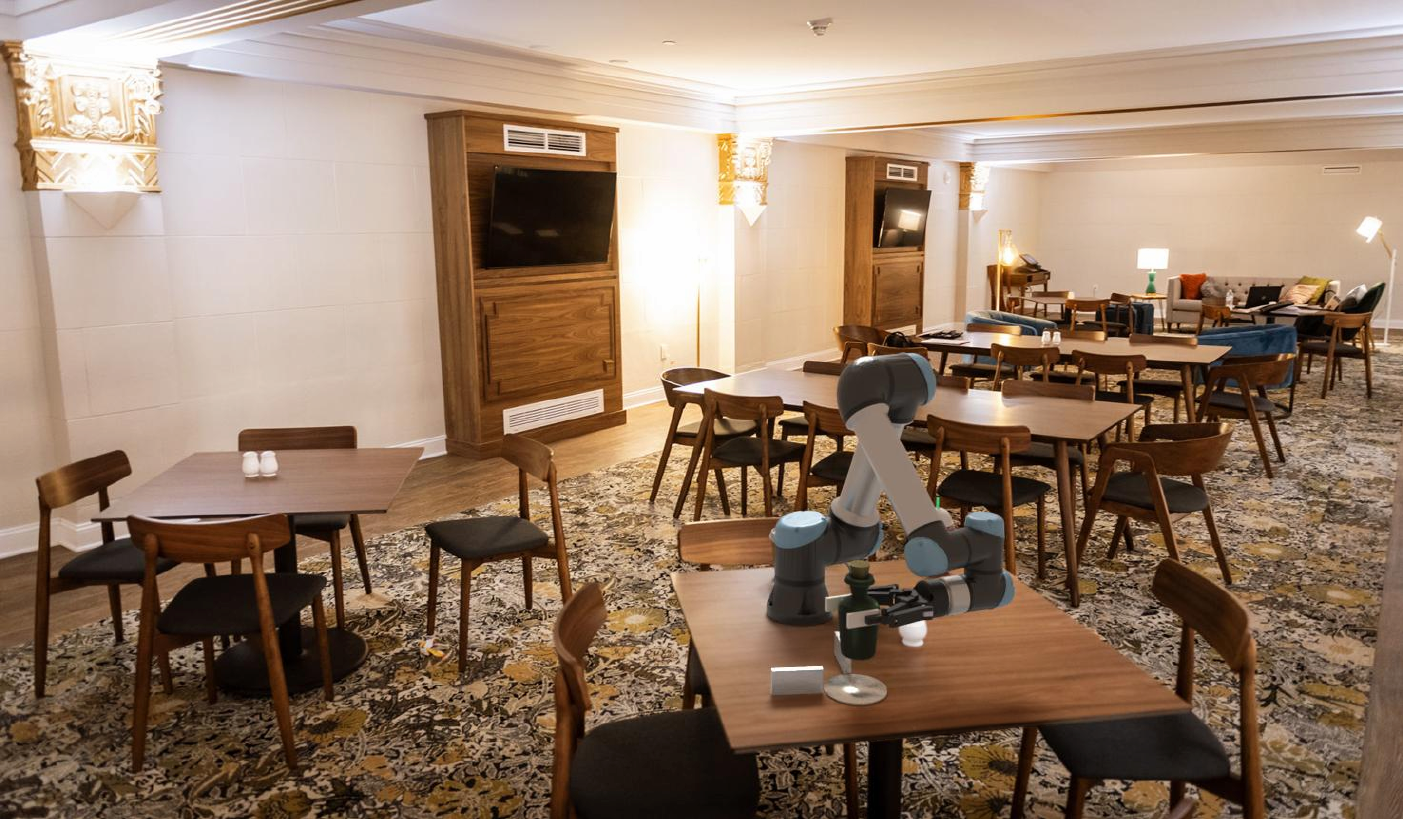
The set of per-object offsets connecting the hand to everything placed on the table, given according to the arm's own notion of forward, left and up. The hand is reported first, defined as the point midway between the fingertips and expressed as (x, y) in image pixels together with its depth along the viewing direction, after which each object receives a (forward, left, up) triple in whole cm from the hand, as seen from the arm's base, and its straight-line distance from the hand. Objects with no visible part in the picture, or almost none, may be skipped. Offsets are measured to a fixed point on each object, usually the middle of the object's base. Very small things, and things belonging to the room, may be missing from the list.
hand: (836, 612), depth 182 cm
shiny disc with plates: (-1, +5, -17) cm, 17 cm away
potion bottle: (+3, +4, -9) cm, 10 cm away
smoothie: (-11, +76, -17) cm, 79 cm away
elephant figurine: (-25, +57, -17) cm, 65 cm away
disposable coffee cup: (-41, +51, -17) cm, 67 cm away
